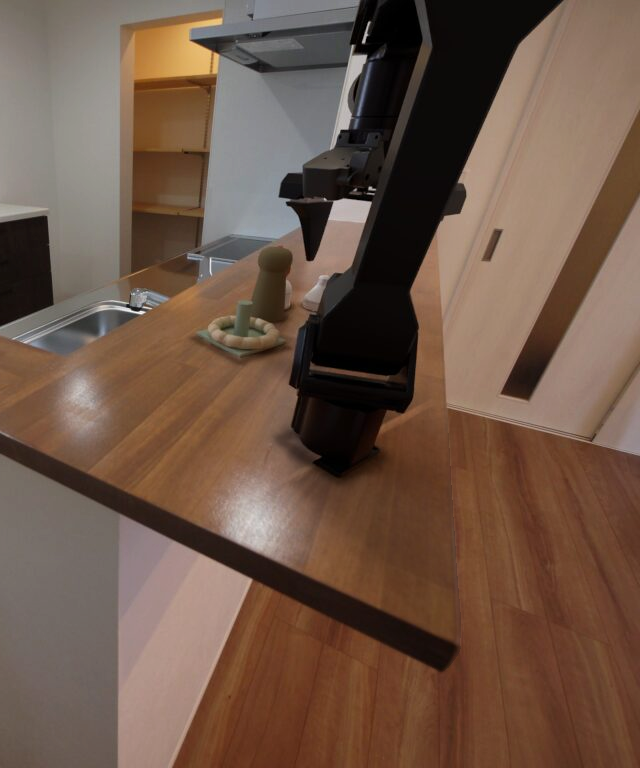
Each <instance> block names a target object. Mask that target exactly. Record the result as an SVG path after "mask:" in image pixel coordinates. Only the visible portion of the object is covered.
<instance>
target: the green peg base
mask: <svg viewBox="0 0 640 768" xmlns="http://www.w3.org/2000/svg"><path fill="white" fill-rule="evenodd" d="M252 306H253V302H251V300H248V299H240V300H238V301H237V306H236V312H235V313H236V314H235V316H236V319H235V326H229V327H225V328H222V329H220V330H221V331H223V332H225V333H227V334H229V335H234V336H239V337H261V336H264V335H266V334H265V333H264V332H261V331H259V330H257V329H254V328H249V324H250V318H251V312H252ZM195 335H196V336H197V337H200V338H202V339H203V340H205V341H207V342H209V343H211V344H213V345H215V346H217V347H219V348H221V349H222V350H224V351H226V352H228V353H230V354H232V355H234V356H236V357H238V358H239V359H240V358H244V357H247V356H249V355H253V354H255V353H256V354H257V353H260V352H262V351H265V350H268V349H273V348H275V347H278V346H281V345H284V344H286V343H287V340H286V339H285V338H283V337H280V336H279V337H278V339H277V341H276V342H275V344H274V345H271V346H268V347H265V348H262V349H238V348H233V347H228V346H225V345H223V344H221V343H219V342H217V341H215V340H213V339H212V338H211V336H210V334H209V332H208V328H205V329H201V330H197V331H195Z"/></svg>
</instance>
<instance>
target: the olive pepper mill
mask: <svg viewBox="0 0 640 768" xmlns="http://www.w3.org/2000/svg"><path fill="white" fill-rule="evenodd" d="M293 260H294V256H293V252H292V251H291V250H290V249H289V248H285V247H283V248H282V247H277V246H267V247H264V248H262V249H261V251H260V252H259V255H258V257H257V265H258V267H259V270H258V271H259V272H258V275H257V279H256V281H255V285H254V288H253V292H252V294H251V297H250V301H251V302H253V306H252V312H251V317H254V318H259V319H262V320H264V321H267V322H269V323H274V322H280V321H282V320H284V318H285V309H284V308H285V291H286V279H287V277H286V274H287V270H288V269H289V268H290V266H291V267H292V264H293Z"/></svg>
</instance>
